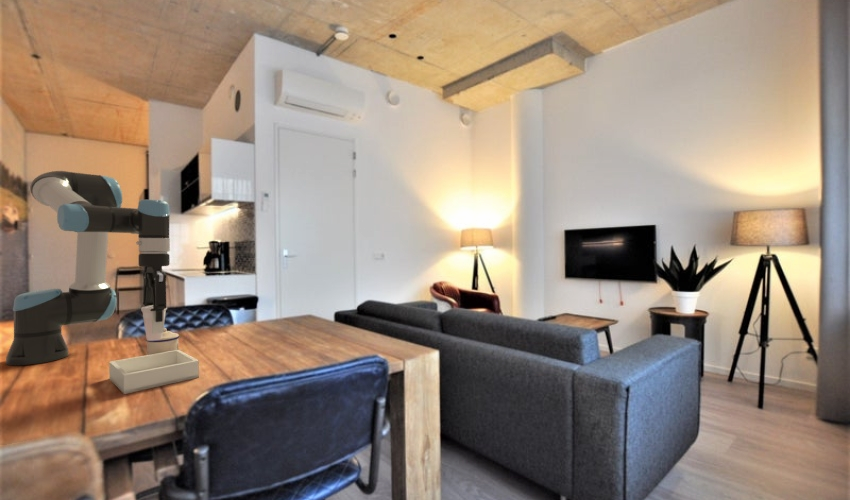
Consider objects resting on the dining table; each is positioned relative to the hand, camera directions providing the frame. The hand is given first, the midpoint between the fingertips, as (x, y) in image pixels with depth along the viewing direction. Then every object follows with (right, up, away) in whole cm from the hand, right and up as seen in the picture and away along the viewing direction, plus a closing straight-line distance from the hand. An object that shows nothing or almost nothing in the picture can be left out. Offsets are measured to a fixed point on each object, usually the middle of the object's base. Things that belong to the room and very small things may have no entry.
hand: (154, 330), depth 116 cm
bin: (0, -14, 0) cm, 14 cm away
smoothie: (0, -3, 0) cm, 3 cm away
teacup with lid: (-8, -14, +15) cm, 22 cm away
